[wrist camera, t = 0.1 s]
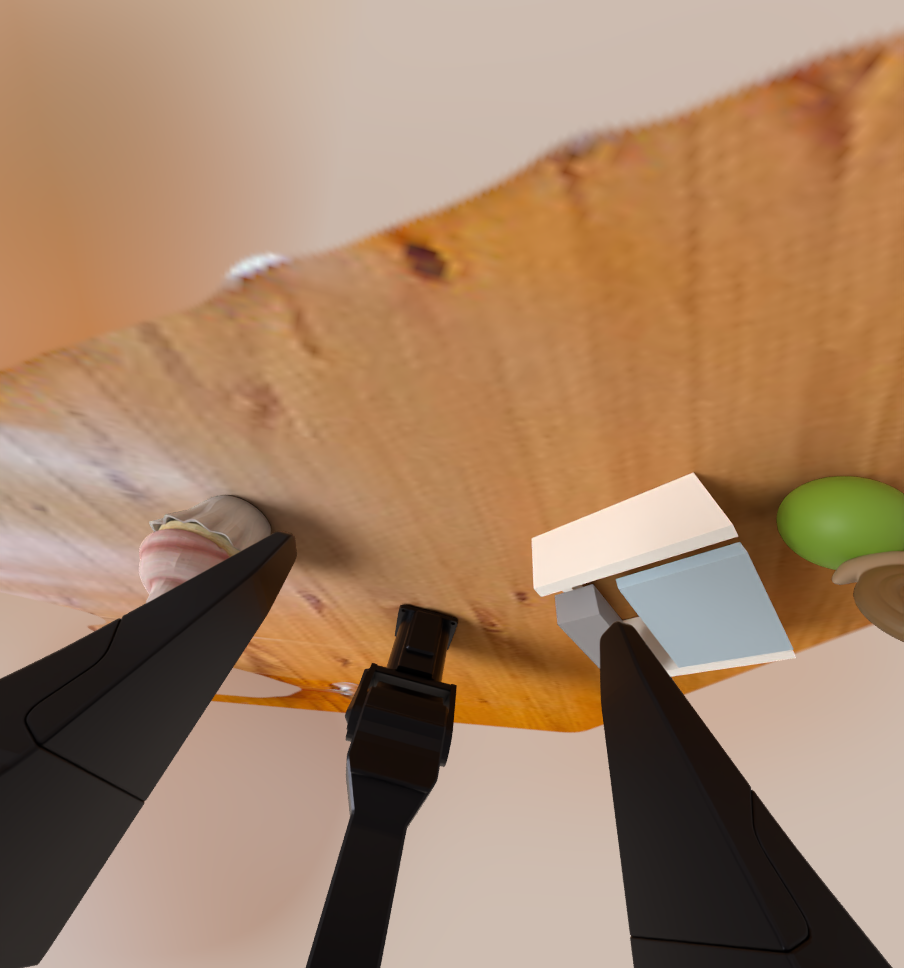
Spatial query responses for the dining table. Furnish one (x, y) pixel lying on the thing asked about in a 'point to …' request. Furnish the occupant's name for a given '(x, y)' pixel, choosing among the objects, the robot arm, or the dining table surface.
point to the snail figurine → (852, 540)
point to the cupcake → (197, 541)
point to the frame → (637, 550)
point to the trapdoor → (685, 609)
